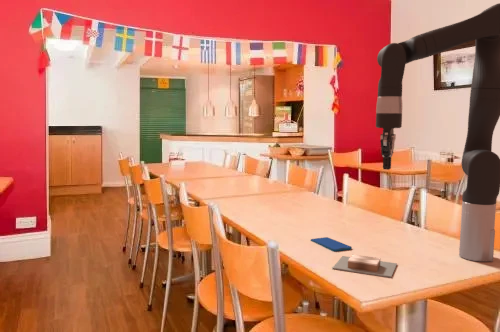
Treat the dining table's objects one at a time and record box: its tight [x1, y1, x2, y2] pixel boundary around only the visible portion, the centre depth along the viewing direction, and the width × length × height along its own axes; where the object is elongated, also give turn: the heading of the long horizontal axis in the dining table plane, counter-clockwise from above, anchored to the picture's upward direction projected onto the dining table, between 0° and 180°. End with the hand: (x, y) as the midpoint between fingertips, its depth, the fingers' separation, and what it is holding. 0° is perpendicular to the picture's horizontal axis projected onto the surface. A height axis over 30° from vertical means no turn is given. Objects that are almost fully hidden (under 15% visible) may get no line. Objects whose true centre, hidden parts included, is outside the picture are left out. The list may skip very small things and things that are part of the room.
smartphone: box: [310, 237, 352, 252], centre depth 151 cm, size 7×1×15 cm
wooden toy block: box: [348, 254, 382, 272], centre depth 128 cm, size 8×2×6 cm
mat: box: [332, 255, 398, 278], centre depth 129 cm, size 16×12×1 cm
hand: (386, 169), depth 137 cm, fingers closed
